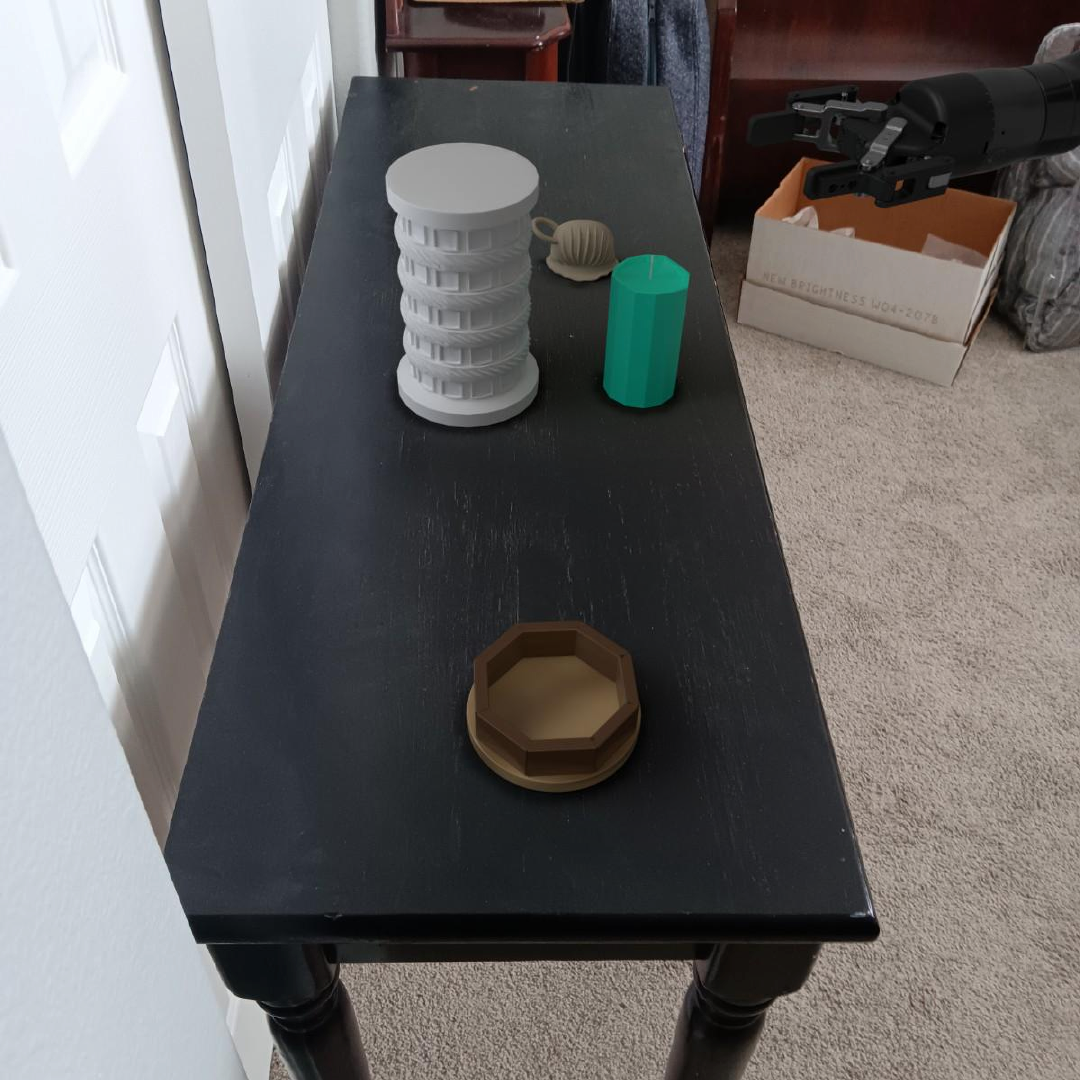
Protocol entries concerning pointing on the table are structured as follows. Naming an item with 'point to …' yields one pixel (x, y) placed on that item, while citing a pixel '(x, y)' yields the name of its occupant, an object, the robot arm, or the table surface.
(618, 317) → the candle
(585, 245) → the decorative ornament
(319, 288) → the table surface
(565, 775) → the candle pad
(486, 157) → the decorative container
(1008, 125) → the robot arm
